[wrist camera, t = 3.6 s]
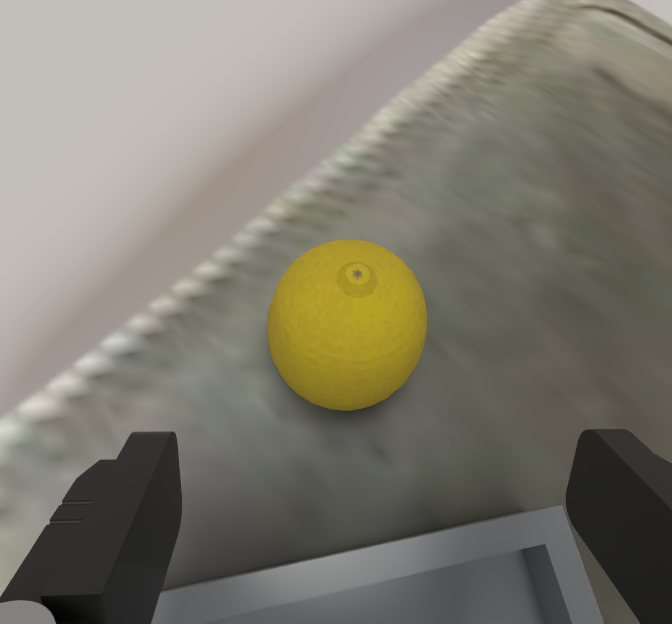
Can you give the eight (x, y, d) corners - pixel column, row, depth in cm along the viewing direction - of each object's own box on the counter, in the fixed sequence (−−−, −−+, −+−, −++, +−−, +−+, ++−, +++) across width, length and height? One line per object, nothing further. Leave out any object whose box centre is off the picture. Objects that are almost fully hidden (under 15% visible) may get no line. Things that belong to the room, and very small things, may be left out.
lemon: (271, 309, 22) (258, 194, 15) (394, 305, 23) (439, 193, 16) (273, 435, 20) (259, 370, 13) (409, 427, 20) (471, 362, 13)
